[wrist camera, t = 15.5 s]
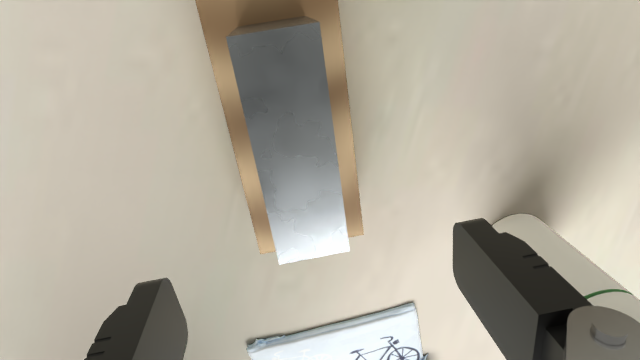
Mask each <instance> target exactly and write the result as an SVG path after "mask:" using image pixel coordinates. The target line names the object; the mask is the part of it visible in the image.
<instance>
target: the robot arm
mask: <svg viewBox="0 0 640 360" xmlns="http://www.w3.org/2000/svg"><path fill="white" fill-rule="evenodd" d="M453 272H454V277H455V280H456V283H457V285H458V287H459V289H460V291H461V292H462V294H463V295H464V297H465V298H466V300H467V301H468V303H469V304H470V306H471V307H472V309H473V310H474V312H475V313H476V315H477V316H478V318H479V319H480V321H481V322H482V324H483V325H484V327H485V328H486V330H487V331H488V333H489V334H490V336H491V337H492V339H493V340H494V342H495V343H496V345H497V346H498V348H499V349H500V351H501V352H502V354H503V355H504V357H505V358H506V360H640V323H639V322H638V321H636V320H635V319H633V318H632V317H630V316H628V315H626V314H624V313H622V312H620V311H617V310H614V309H611V308H607V307H602V306H593V305H592V304H591V303H590V302H589V301H588V300H587V299H586V298H585V297H584V296H582V295H581V294H580V293H579V292H578V291H577V290H576V289H575V288H574V287H573V286H572V285H571V284H570V283H569V282H567V281H566V280H565V279H564V278H563V277H562V276H561V275H560V274H559V273H558V272H557V271H556V270H555V269H554V268H552V267H551V266H550V267H549V265H548V263H547V262H546V261H545V260H544V259H543V258H542V257H541V256H538V255H537V253H536V252H535V251H534V250H533V249H532V248H531V247H530V246H529V245H528V244H527V243H526V242H525V241H523V240H521V239H519V238H517V237H515V236H513V235H511V234H509V233H507V232H503V233H498V232H497V231H496V230H495V229H494V228H493V227H492V226H491V225H490V224H489V223H488V222H487V221H486V220H485V219H483V218H480V219H474V220H469V221H464V222H459V223H455V225H454V227H453ZM187 339H188V330H187V323H186V319H185V317H184V314H183V311H182V309H181V306H180V304H179V301H178V299H177V296H176V294H175V291H174V289H173V286H172V284H171V282H170V280H169V279H168V278H163V279H158V280H152V281H147V282H142V283H138V284H137V285H136V286H135V287H134V290H133V292H132V294H131V296H130V298H129V300H128V302H127V305H123V306H119V307H118V308H117V309H116V310H115V311H114V312H113V313H112V314H111V315H110V316H109V317H108V318H107V319H106V320H105V321H104V322H103V324H102V326H101V328H100V330H99V332H98V334H97V336H96V338H95V340H94V341H95V343H93V344H92V345H91V347H90V349H89V351H88V353H87V358H85V359H84V360H183V357H184V353H185V349H186V345H187Z"/></svg>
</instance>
